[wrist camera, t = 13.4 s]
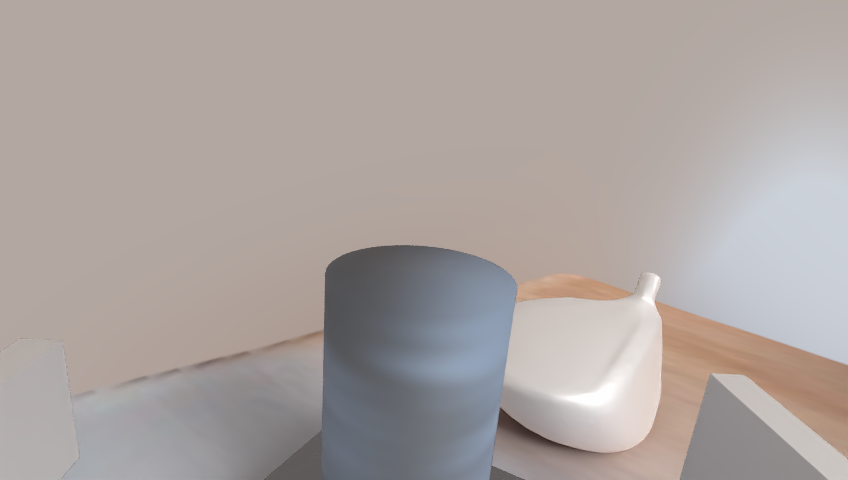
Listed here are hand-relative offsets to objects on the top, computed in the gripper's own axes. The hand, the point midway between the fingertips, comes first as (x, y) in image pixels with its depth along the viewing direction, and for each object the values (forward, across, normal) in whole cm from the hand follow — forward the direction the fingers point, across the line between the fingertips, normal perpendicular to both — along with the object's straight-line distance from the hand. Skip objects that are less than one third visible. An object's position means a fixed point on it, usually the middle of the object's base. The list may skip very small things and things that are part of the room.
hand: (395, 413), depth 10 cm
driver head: (+15, +9, -10) cm, 20 cm away
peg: (+2, 0, -10) cm, 10 cm away
